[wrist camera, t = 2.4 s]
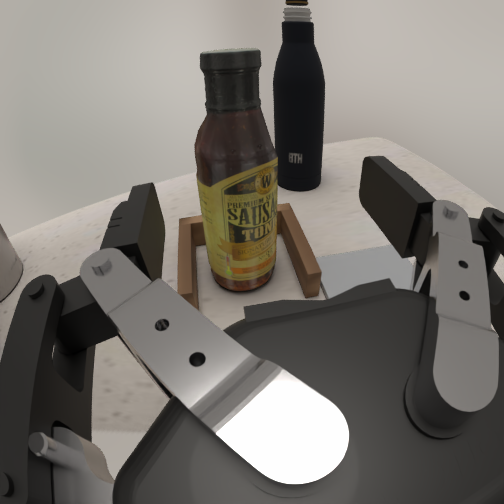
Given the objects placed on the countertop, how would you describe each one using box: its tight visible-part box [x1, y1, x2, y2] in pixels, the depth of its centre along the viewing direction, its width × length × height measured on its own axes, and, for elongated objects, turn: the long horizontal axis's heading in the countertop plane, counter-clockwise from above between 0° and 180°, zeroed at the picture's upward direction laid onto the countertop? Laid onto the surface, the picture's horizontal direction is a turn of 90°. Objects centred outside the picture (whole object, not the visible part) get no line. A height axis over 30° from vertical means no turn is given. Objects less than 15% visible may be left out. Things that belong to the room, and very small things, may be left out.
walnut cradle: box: [178, 203, 322, 311], centre depth 29 cm, size 12×11×3 cm
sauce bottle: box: [195, 48, 278, 291], centre depth 23 cm, size 7×6×20 cm
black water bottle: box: [273, 0, 325, 191], centre depth 32 cm, size 6×6×30 cm
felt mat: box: [316, 245, 413, 299], centre depth 27 cm, size 10×9×1 cm
